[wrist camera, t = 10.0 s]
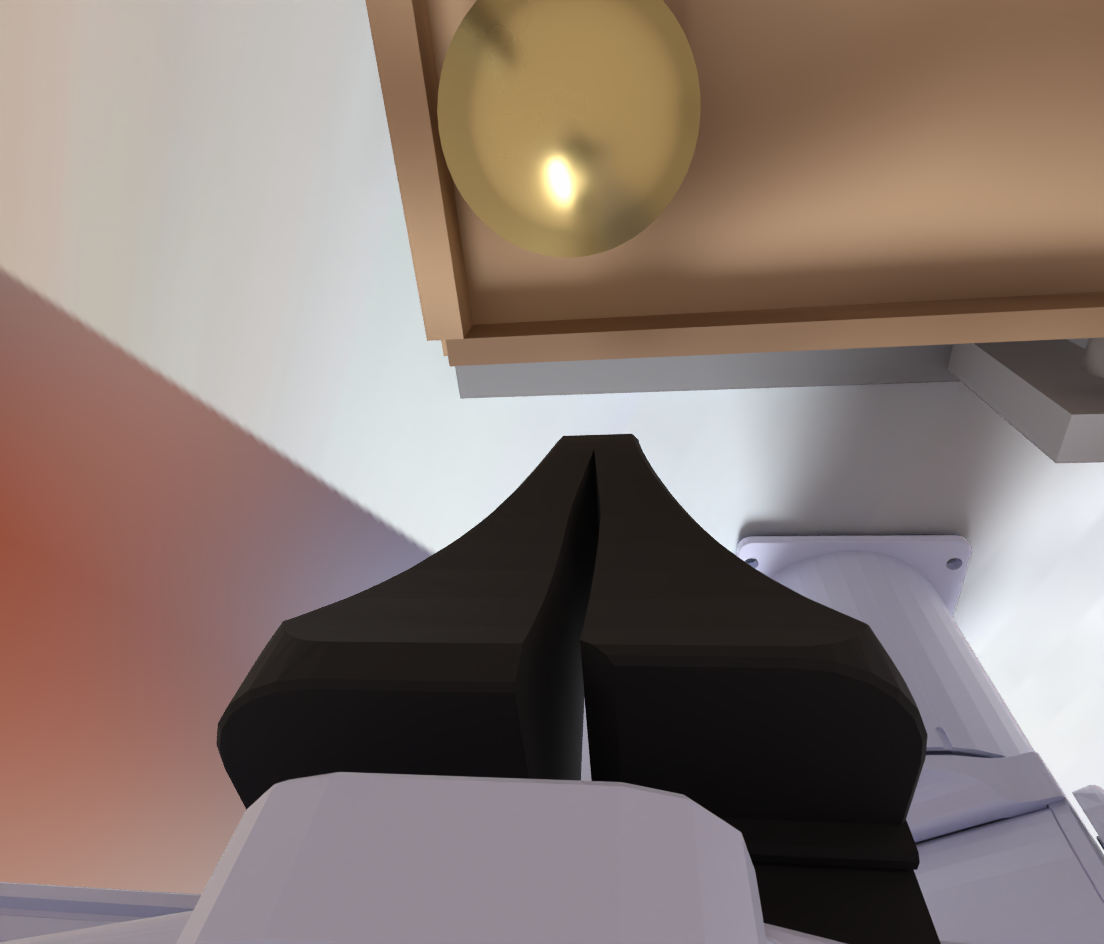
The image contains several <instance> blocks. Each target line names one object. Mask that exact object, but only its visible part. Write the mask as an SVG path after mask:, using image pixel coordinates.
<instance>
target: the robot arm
mask: <svg viewBox="0 0 1104 944" xmlns="http://www.w3.org/2000/svg"><path fill="white" fill-rule="evenodd" d="M971 553H972V547H971V545H970V543H969V542H968V541H967V539H966V538H964V537H962V536H957V535H915V536H750V537H746V538H744V539H742V540H741V541H740V542H739V543H738V545H737V553H736V555H735V554H733V553H732V552H730V551H729V550H727V549H726V548H725V547H724V546H722V545H721V544H720V543H718V542H717V541H716V540H715V539H714V538H713V537H711V536H710V535H709V534H708V533H707V532H706V531H705V530H704V529H703V528H702V527H701V526H700V525H699V524H698V523H696V521H695V520H694V519H693V518H692V517H691V516H690V515H689V514H688V513H687V512H686V511H685V510H684V509H683V507H682V506H681V505H680V504H679V503H678V502H677V501H676V499H675V498H674V497H673V496H672V494H671V493H670V492H669V491H668V489H667V488H666V487H665V485H664V484H663V483H662V481H661V480H660V478H659V477H658V476H657V474H656V473H655V471H654V470H653V468H652V467H651V465H650V463H649V462H648V460H647V458H646V457H645V455H644V453H643V451H642V449H641V447H640V444H639V441H638V439H637V438H636V437H635V436H634V435H633V434H613V435H580V436H563V437H562V438H561V439H560V440H559V441H558V442H557V443H556V444H555V446H554V447H553V448H552V449H551V451H550V452H549V453H548V454H547V455H546V457H545V458H544V459H543V460H542V461H541V463H540V464H539V465H538V466H537V467H536V469H535V470H534V471H533V472H532V473H531V474H530V475H529V476H528V477H527V478H526V480H525V481H524V482H523V483H522V484H521V485H520V486H519V487H518V488H517V489H516V490H515V491H514V492H513V493H512V494H511V495H510V496H509V497H508V498H507V499H506V500H505V501H504V502H503V503H502V504H501V505H500V506H499V507H498V508H497V509H496V510H495V511H494V512H492V513H491V514H490V515H489V516H488V517H486V518H485V519H484V520H483V521H481V522H480V523H479V524H478V525H476V526H475V527H474V528H472V529H471V530H470V531H468V532H467V533H466V534H464V535H463V536H461V537H460V538H459V539H457V540H456V541H454V542H453V543H451V544H450V545H448V546H447V547H445V548H443V549H442V550H440V551H438V552H437V553H435V554H433V555H432V556H430V557H428V558H427V559H425V560H423V561H422V562H420V563H419V564H417V565H415V566H414V567H412V568H410V569H408V570H406V571H404V572H402V573H400V574H398V575H397V576H394V577H392V578H390V579H388V580H386V581H385V582H382V583H380V584H378V585H376V586H373V587H372V588H369V589H367V590H365V591H363V592H360V593H358V594H356V595H353V596H351V597H349V598H346V599H344V600H341V601H338V602H335V603H333V604H330V605H328V606H325V607H322V608H319V609H317V610H314V611H311V612H309V613H306V614H303V615H301V616H298V617H295V618H292V619H289V620H286V621H283V622H282V624H281V625H280V627H279V628H278V629H277V631H276V632H275V634H274V635H273V636H272V638H271V639H270V641H269V642H268V644H267V645H266V646H265V648H264V650H263V651H262V653H261V654H260V656H259V657H258V659H257V661H256V662H255V664H254V665H253V667H252V668H251V670H250V672H249V673H248V675H247V677H246V678H245V680H244V681H243V683H242V684H241V686H240V688H239V689H238V691H237V693H236V694H235V696H234V697H233V699H232V700H231V702H230V704H229V705H228V707H227V709H226V710H225V712H224V714H223V716H222V717H221V719H220V721H219V723H218V731H217V747H218V750H219V753H220V756H221V759H222V762H223V764H224V767H225V769H226V772H227V773H228V775H229V777H230V779H231V781H232V783H233V785H234V787H235V789H236V790H237V792H238V794H239V796H240V798H241V800H242V802H243V804H244V805H245V807H246V809H247V810H246V811H245V813H244V815H243V817H242V818H241V820H240V822H239V824H238V826H237V828H236V830H235V832H234V834H233V836H232V838H231V840H230V841H229V843H228V845H227V847H226V849H225V851H224V853H223V855H222V857H221V859H220V860H219V862H218V864H217V866H216V868H215V870H214V872H213V874H212V876H211V878H210V880H209V882H208V883H207V885H206V887H205V889H204V891H203V893H202V895H201V894H186V893H170V892H153V891H137V890H121V889H105V888H90V887H74V886H58V885H41V884H25V883H10V882H0V944H1104V855H1103V853H1102V851H1101V850H1100V848H1099V847H1098V845H1097V843H1096V842H1095V840H1094V839H1093V837H1092V836H1091V834H1090V832H1089V831H1088V829H1087V828H1086V826H1085V825H1084V823H1083V822H1082V820H1081V819H1080V817H1079V816H1078V814H1077V812H1076V811H1075V809H1074V808H1073V806H1072V805H1071V803H1070V802H1069V800H1068V799H1067V797H1066V796H1065V794H1064V792H1063V791H1062V789H1061V788H1060V786H1059V785H1058V783H1057V782H1056V780H1055V779H1054V777H1053V776H1052V774H1051V772H1050V771H1049V769H1048V768H1047V766H1046V765H1045V763H1044V762H1043V760H1042V759H1041V757H1040V756H1039V754H1038V753H1036V752H1035V751H1034V749H1033V748H1032V746H1031V745H1030V743H1029V741H1028V740H1027V738H1026V736H1025V735H1024V733H1023V732H1022V730H1021V728H1020V727H1019V725H1018V723H1017V722H1016V720H1015V718H1014V717H1013V715H1012V714H1011V712H1010V710H1009V709H1008V707H1007V705H1006V704H1005V702H1004V701H1003V699H1002V697H1001V696H1000V694H999V692H998V691H997V689H996V688H995V686H994V684H993V683H992V681H991V679H990V678H989V676H988V674H987V673H986V671H985V670H984V668H983V666H982V665H981V663H980V661H979V660H978V658H977V657H976V655H975V653H974V652H973V650H972V648H971V647H970V645H969V644H968V642H967V640H966V639H965V637H964V635H963V634H962V632H961V630H960V629H959V627H958V626H957V624H956V622H955V621H954V619H953V616H954V613H955V609H956V606H957V602H958V599H959V595H960V592H961V588H962V585H963V581H964V578H965V574H966V571H967V567H968V564H969V560H970V557H971ZM750 558H754V559H756V560H755V561H754V562H752V563H746V562H745V561H746V560H747V559H750ZM953 558H957V559H956V560H955V561H954V562H952V563H947V562H948V561H949V560H950V559H953ZM584 697H585V708H586V719H587V729H588V742H589V754H590V766H591V778H592V781H581V761H582V737H583V714H584ZM1072 793H1073V795H1074V797H1075V798H1076V800H1077V801H1078V803H1079V805H1080V806H1081V808H1082V809H1083V811H1084V813H1085V814H1086V816H1087V817H1088V819H1089V821H1090V822H1091V824H1092V825H1093V827H1094V829H1095V830H1096V832H1097V833H1098V835H1099V836H1097V839H1098V841H1099V843H1100V844H1101V846H1102V848H1103V849H1104V790H1103V789H1102V788H1101V787H1099V786H1096V785H1089V786H1087V787H1084V788H1082V789H1079V790H1077V791H1074V792H1072Z"/></svg>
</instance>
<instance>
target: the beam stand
mask: <svg viewBox="0 0 1104 944" xmlns="http://www.w3.org/2000/svg"><path fill="white" fill-rule="evenodd" d="M1088 340H1089V338H1079V339H1056V340H1033V341H1011V342H988V343H966V344H943V345H920V346H898V347H875V348H852V349H830V350H807V351H785V352H762V353H739V354H717V355H694V356H672V357H649V358H626V359H604V360H581V361H559V362H536V363H513V364H491V365H468V366H455V368H456V374H457V380H458V386H459V392H460V398H485V397H514V396H543V395H572V394H602V393H631V392H660V391H689V390H718V389H747V388H776V387H805V386H834V385H863V384H892V383H922V382H951V381H961V382H963V383H964V384H965V385H966V386H967V387H968V388H969V389H971V390H972V391H973V392H974V393H975V394H976V395H978V396H979V397H980V398H981V399H982V400H983V401H985V402H986V403H987V404H988V405H989V406H990V407H991V408H993V409H994V410H995V411H996V412H997V413H998V414H1000V415H1001V416H1002V417H1003V418H1004V419H1005V420H1006V421H1008V422H1009V423H1010V424H1011V425H1012V426H1013V427H1015V428H1016V429H1017V430H1018V431H1019V432H1020V433H1022V434H1023V435H1024V436H1025V437H1026V438H1027V439H1028V440H1030V441H1031V442H1032V443H1033V444H1034V445H1035V446H1037V447H1038V448H1039V449H1040V450H1041V451H1042V452H1043V453H1045V454H1046V455H1047V456H1048V457H1049V458H1050V459H1052V460H1053V461H1054V462H1055V463H1088V462H1104V377H1099V376H1095V375H1092V374H1089V373H1087V372H1085V371H1083V370H1082V369H1081V368H1080V364H1081V361H1082V358H1083V355H1084V352H1085V349H1086V346H1087V343H1088Z"/></svg>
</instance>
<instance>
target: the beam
mask: <svg viewBox="0 0 1104 944" xmlns="http://www.w3.org/2000/svg"><path fill="white" fill-rule="evenodd" d="M476 1H477V0H366V6H367V11H368V17H369V22H370V28H371V33H372V39H373V44H374V50H375V55H376V61H377V66H378V72H379V77H380V83H381V88H382V94H383V99H384V105H385V110H386V116H387V121H388V127H389V132H390V138H391V143H392V149H393V154H394V160H395V165H396V171H397V176H398V182H399V188H400V193H401V199H402V204H403V210H404V215H405V221H406V226H407V232H408V237H409V243H410V248H411V254H412V259H413V265H414V270H415V276H416V281H417V287H418V292H419V298H420V303H421V309H422V314H423V320H424V325H425V331H426V336H427V341H429V340H441V342H442V348H443V353H444V356H448V358H449V364H450V366H468V365H491V364H513V363H536V362H559V361H581V360H604V359H626V358H649V357H672V356H694V355H717V354H739V353H762V352H785V351H807V350H830V349H852V348H875V347H898V346H920V345H943V344H966V343H988V342H1011V341H1033V340H1056V339H1079V338H1089V340H1088V343H1087V346H1086V349H1085V352H1084V355H1083V358H1082V361H1081V364H1080V368H1081V369H1082V370H1083V371H1085V372H1087V373H1089V374H1092V375H1095V376H1099V377H1104V0H663V1H664V2H665V4H666V5H667V6H668V8H669V9H670V10H671V12H672V13H673V14H674V15H675V17H676V19H677V21H678V22H679V24H680V26H681V28H682V30H683V31H684V33H685V35H686V38H687V40H688V43H689V45H690V48H691V50H692V53H693V57H694V60H695V64H696V68H697V72H698V79H699V86H700V100H701V115H700V125H699V134H698V138H697V143H696V147H695V152H694V155H693V158H692V161H691V163H690V166H689V169H688V172H687V174H686V176H685V178H684V180H683V182H682V184H681V186H680V188H679V189H678V191H677V193H676V194H675V196H674V197H673V199H672V200H671V202H670V203H669V205H668V206H667V207H666V208H665V209H664V211H663V212H662V213H661V214H660V215H659V217H658V218H657V219H655V220H654V221H653V222H652V223H651V224H650V225H649V226H648V227H647V228H646V229H645V230H643V231H642V232H640V233H639V234H638V235H636V236H635V237H634V238H632V239H630V240H629V241H627V242H625V243H623V244H621V245H620V246H618V247H615V248H612V249H610V250H607V251H605V252H602V253H598V254H594V255H590V256H583V257H573V258H569V257H553V256H547V255H541V254H538V253H534V252H531V251H528V250H525V249H523V248H521V247H519V246H516V245H514V244H512V243H510V242H509V241H507V240H506V239H504V238H502V237H501V236H499V235H498V234H497V233H495V232H494V231H493V230H492V229H490V228H489V227H488V226H487V225H486V224H485V223H484V222H483V221H482V220H481V219H480V218H479V217H478V216H477V215H476V214H475V213H474V212H473V210H472V209H471V208H470V206H469V205H468V204H467V202H466V201H465V200H464V198H463V197H462V195H461V193H460V192H459V190H458V188H457V186H456V185H455V183H454V180H453V178H452V176H451V174H450V171H449V169H448V167H447V163H446V160H445V157H444V154H443V150H442V146H441V140H440V135H439V128H438V114H437V106H438V89H439V83H440V76H441V71H442V67H443V64H444V60H445V57H446V53H447V51H448V48H449V46H450V43H451V41H452V39H453V36H454V34H455V32H456V30H457V29H458V27H459V25H460V23H461V22H462V20H463V18H464V17H465V15H466V14H467V13H468V11H469V10H470V9H471V7H472V6H473V5H474V3H475V2H476Z"/></svg>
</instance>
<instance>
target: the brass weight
mask: <svg viewBox="0 0 1104 944" xmlns="http://www.w3.org/2000/svg"><path fill="white" fill-rule="evenodd" d="M437 114H438V128H439V135H440V140H441V146H442V150H443V154H444V157H445V160H446V163H447V167H448V169H449V171H450V174H451V176H452V178H453V180H454V183H455V185H456V186H457V188H458V190H459V192H460V193H461V195H462V197H463V198H464V200H465V201H466V202H467V204H468V205H469V206H470V208H471V209H472V210H473V212H474V213H475V214H476V215H477V216H478V217H479V218H480V219H481V220H482V221H483V222H484V223H485V224H486V225H487V226H488V227H489V228H490V229H492V230H493V231H494V232H495V233H497V234H498V235H499V236H501V237H502V238H504V239H506V240H507V241H509V242H510V243H512V244H514V245H516V246H519V247H521V248H523V249H525V250H528V251H531V252H534V253H538V254H541V255H547V256H553V257H569V258H573V257H583V256H590V255H594V254H598V253H602V252H605V251H607V250H610V249H612V248H615V247H618V246H620V245H621V244H623V243H625V242H627V241H629V240H630V239H632V238H634V237H635V236H636V235H638V234H639V233H640V232H642V231H643V230H645V229H646V228H647V227H648V226H649V225H650V224H651V223H652V222H653V221H654V220H655V219H657V218H658V217H659V215H660V214H661V213H662V212H663V211H664V209H665V208H666V207H667V206H668V205H669V203H670V202H671V200H672V199H673V197H674V196H675V194H676V193H677V191H678V189H679V188H680V186H681V184H682V182H683V180H684V178H685V176H686V174H687V172H688V169H689V166H690V163H691V161H692V158H693V155H694V152H695V147H696V143H697V138H698V134H699V125H700V115H701V100H700V86H699V79H698V72H697V68H696V64H695V60H694V57H693V53H692V50H691V48H690V45H689V43H688V40H687V38H686V35H685V33H684V31H683V30H682V28H681V26H680V24H679V22H678V21H677V19H676V17H675V15H674V14H673V13H672V12H671V10H670V9H669V8H668V6H667V5H666V4H665V2H664V1H663V0H477V1H476V2H475V3H474V5H473V6H472V7H471V9H470V10H469V11H468V13H467V14H466V15H465V17H464V18H463V20H462V22H461V23H460V25H459V27H458V29H457V30H456V32H455V34H454V36H453V39H452V41H451V43H450V46H449V48H448V51H447V53H446V57H445V60H444V64H443V67H442V71H441V76H440V83H439V89H438V106H437Z"/></svg>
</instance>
